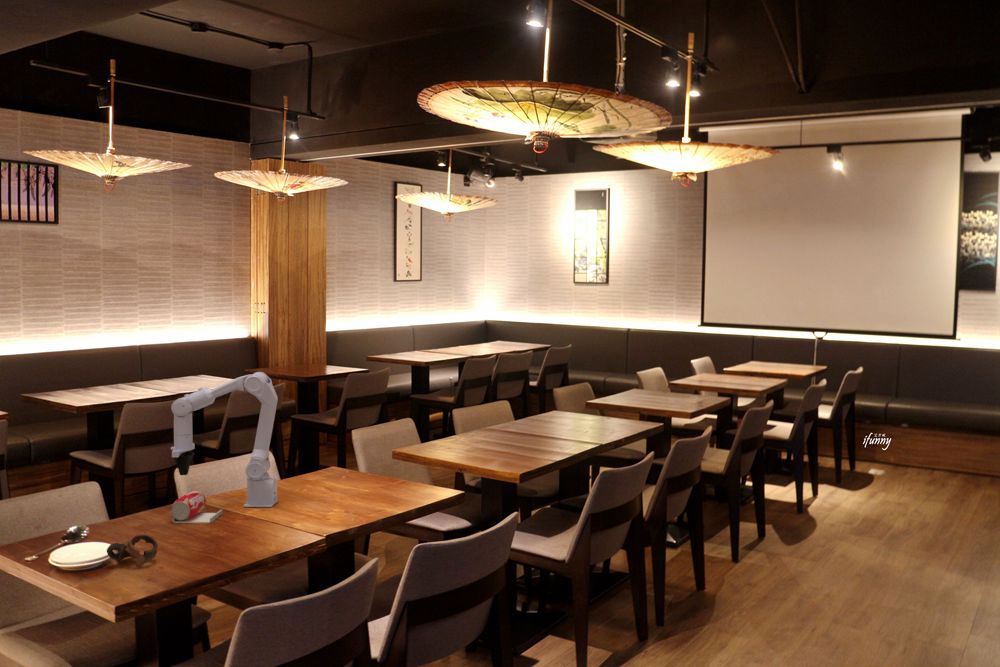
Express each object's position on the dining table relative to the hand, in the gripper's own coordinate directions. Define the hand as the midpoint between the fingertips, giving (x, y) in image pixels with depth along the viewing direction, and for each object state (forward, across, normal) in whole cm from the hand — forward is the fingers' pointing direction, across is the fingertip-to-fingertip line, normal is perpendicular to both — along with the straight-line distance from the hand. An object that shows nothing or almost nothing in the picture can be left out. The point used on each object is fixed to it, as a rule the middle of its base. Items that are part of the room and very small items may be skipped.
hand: (183, 474), depth 266 cm
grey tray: (+10, +15, +10) cm, 21 cm away
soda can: (+6, +8, +7) cm, 13 cm away
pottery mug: (+11, +56, +8) cm, 58 cm away
